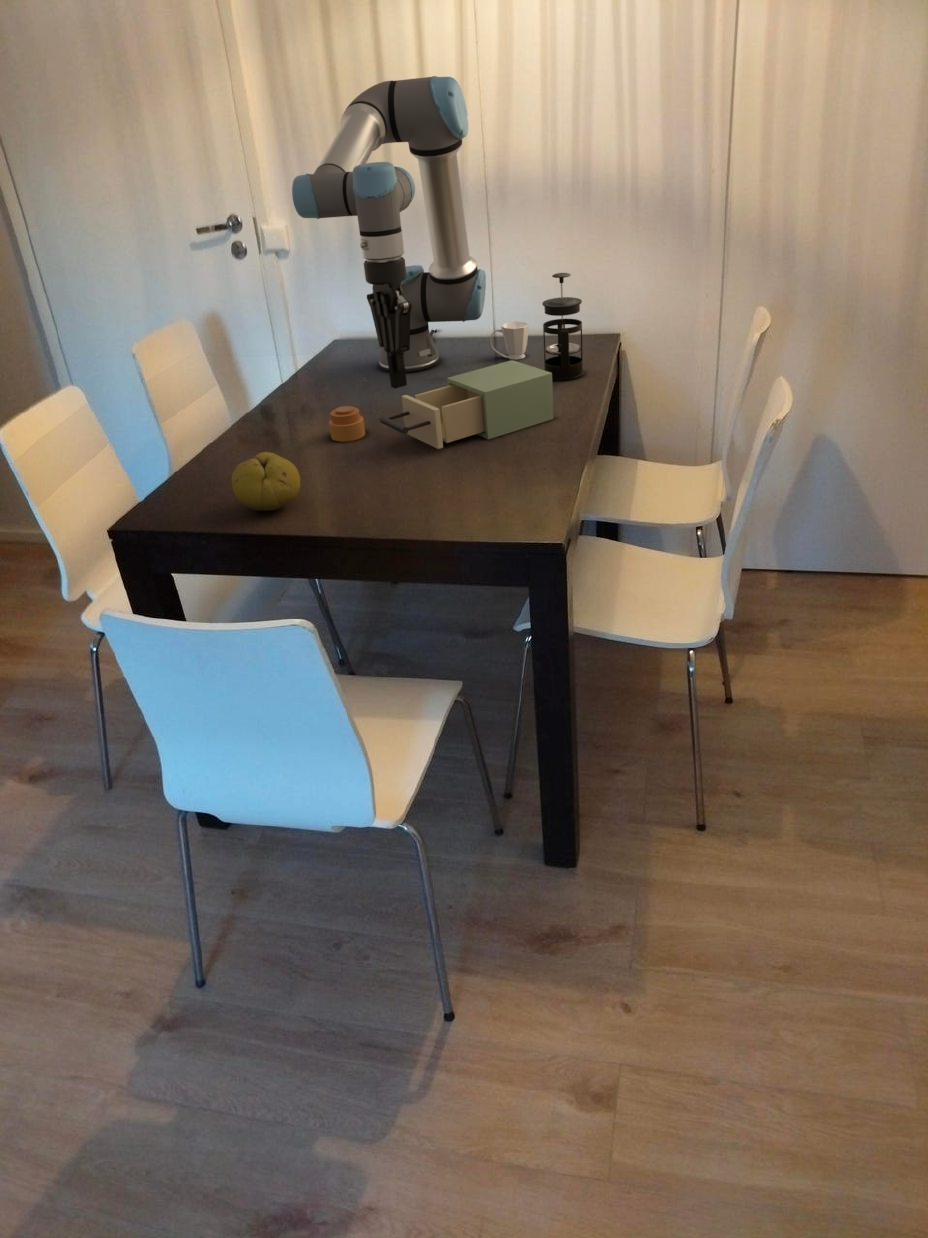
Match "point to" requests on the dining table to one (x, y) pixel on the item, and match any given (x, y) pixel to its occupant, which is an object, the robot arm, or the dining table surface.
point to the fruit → (265, 482)
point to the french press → (563, 336)
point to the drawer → (440, 415)
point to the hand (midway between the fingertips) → (398, 385)
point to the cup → (513, 339)
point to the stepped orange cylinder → (346, 424)
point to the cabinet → (510, 396)
